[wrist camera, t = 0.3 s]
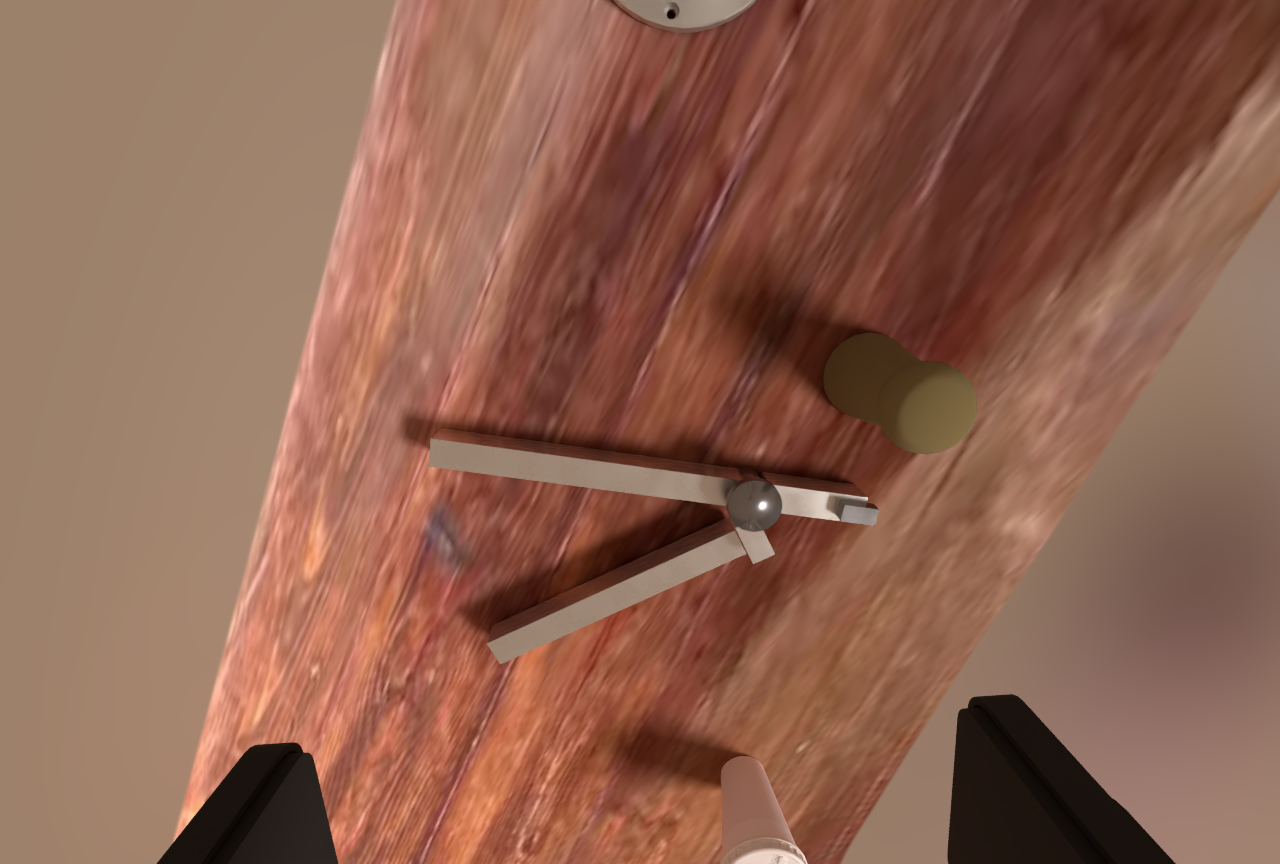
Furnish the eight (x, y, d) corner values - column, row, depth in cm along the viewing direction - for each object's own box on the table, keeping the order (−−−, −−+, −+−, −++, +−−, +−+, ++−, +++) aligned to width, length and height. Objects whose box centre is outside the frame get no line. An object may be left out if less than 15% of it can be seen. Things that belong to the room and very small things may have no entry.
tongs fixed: (442, 425, 44) (425, 439, 41) (862, 482, 46) (881, 501, 43) (439, 457, 45) (424, 474, 42) (854, 512, 47) (872, 533, 43)
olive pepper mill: (835, 429, 45) (898, 484, 34) (812, 350, 43) (871, 382, 33) (917, 400, 44) (1007, 447, 34) (898, 319, 43) (985, 342, 32)
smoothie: (785, 795, 54) (836, 977, 41) (712, 809, 54) (738, 993, 41) (773, 736, 52) (822, 904, 39) (698, 750, 53) (721, 922, 39)
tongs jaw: (469, 587, 47) (454, 618, 43) (757, 452, 45) (769, 472, 41) (506, 644, 49) (495, 679, 45) (787, 517, 46) (802, 542, 42)
